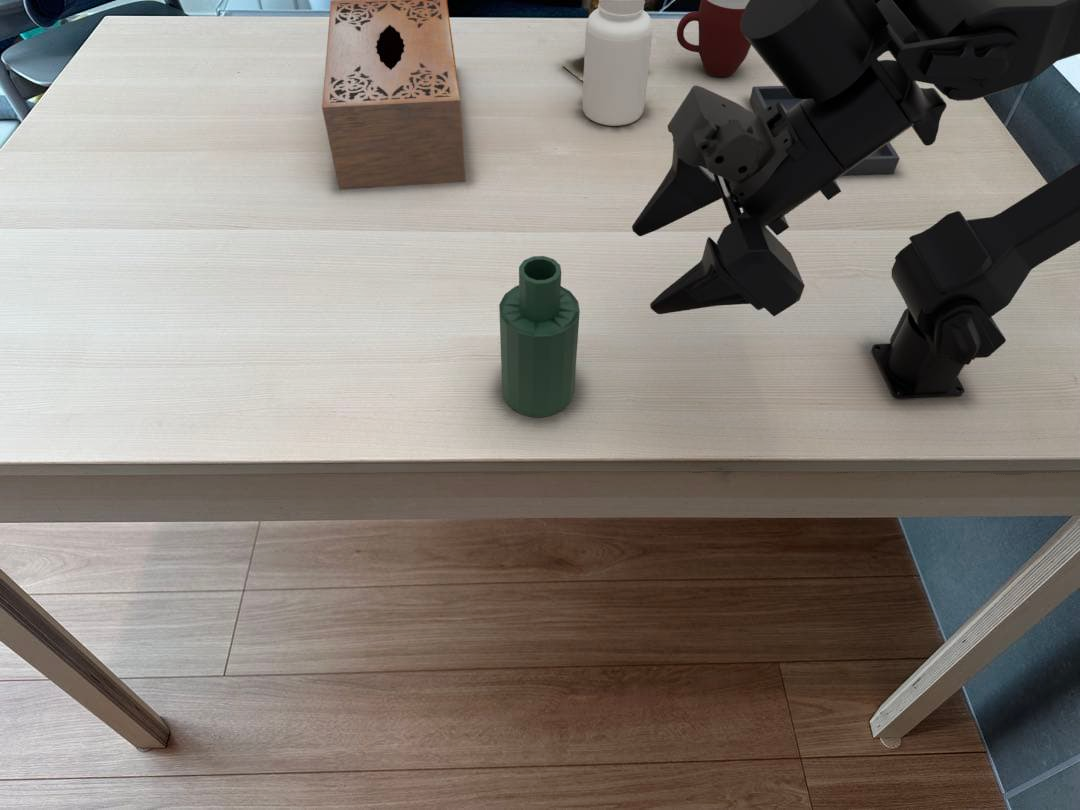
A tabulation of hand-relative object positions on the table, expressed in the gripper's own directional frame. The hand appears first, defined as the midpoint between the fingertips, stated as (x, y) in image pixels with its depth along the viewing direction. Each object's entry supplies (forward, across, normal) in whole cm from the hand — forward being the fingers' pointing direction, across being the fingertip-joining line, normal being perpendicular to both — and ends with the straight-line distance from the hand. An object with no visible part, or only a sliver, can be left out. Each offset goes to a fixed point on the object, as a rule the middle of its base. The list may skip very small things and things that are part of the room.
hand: (643, 269), depth 62 cm
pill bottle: (+6, -47, +13) cm, 49 cm away
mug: (-4, -57, +24) cm, 62 cm away
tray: (-11, -40, +31) cm, 52 cm away
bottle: (+15, 0, +4) cm, 16 cm away
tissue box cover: (+25, -45, -6) cm, 52 cm away
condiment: (+6, -58, +13) cm, 60 cm away
